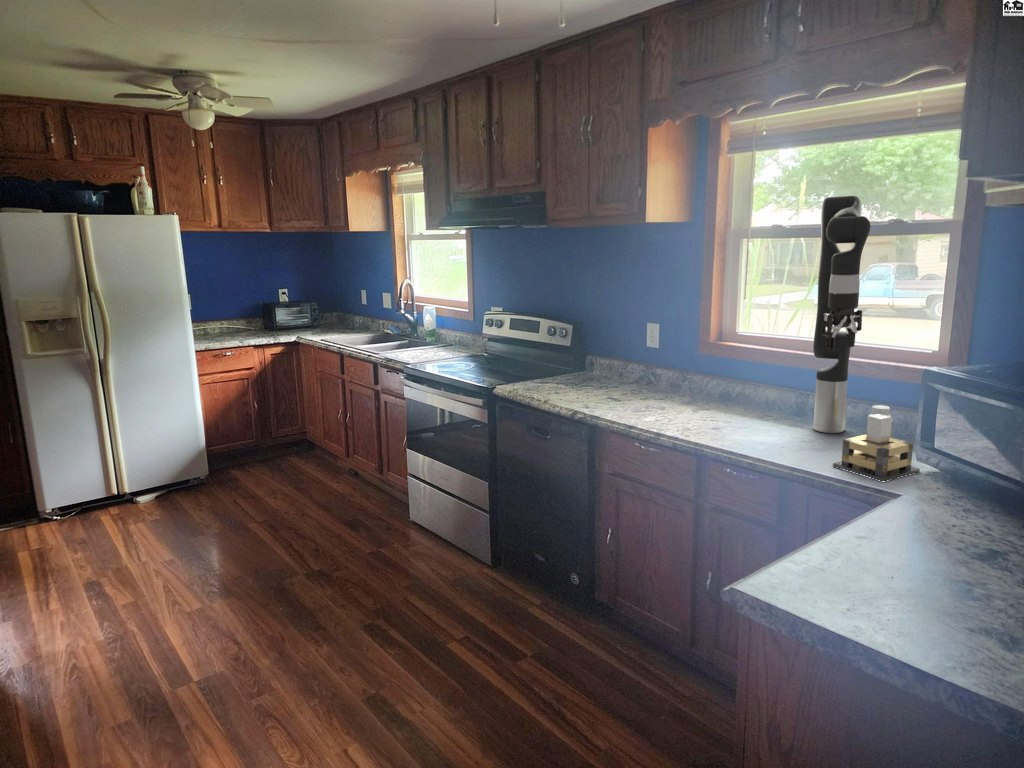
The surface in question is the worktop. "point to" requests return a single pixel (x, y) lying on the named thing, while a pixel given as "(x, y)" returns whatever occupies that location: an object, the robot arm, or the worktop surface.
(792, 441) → the worktop surface
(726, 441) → the worktop surface
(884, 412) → the supplement bottle
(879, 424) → the tall white block
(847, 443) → the collar stand
